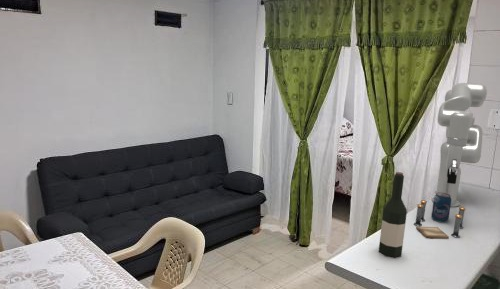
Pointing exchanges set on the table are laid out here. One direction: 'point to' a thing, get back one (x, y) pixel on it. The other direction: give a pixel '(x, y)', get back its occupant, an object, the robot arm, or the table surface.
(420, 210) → the post
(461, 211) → the post
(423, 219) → the post
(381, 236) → the wine bottle
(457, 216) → the post
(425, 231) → the walnut coaster
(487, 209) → the table surface
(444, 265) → the table surface
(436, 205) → the soda can
